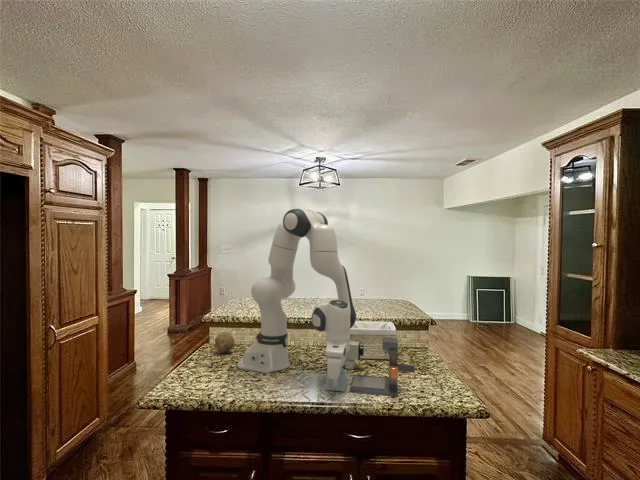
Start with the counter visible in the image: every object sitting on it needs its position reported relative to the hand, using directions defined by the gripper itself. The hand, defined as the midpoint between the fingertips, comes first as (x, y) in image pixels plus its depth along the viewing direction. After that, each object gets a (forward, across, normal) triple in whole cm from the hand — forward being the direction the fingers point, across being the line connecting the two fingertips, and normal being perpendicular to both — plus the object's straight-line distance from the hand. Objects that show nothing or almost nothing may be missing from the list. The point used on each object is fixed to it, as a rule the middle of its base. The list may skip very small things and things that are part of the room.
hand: (337, 382), depth 133 cm
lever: (-5, +2, +21) cm, 21 cm away
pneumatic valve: (+3, -23, +2) cm, 23 cm away
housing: (+2, 0, 0) cm, 2 cm away
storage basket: (+3, -42, +10) cm, 44 cm away
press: (+2, -5, +17) cm, 18 cm away
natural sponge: (+4, -28, -59) cm, 65 cm away
